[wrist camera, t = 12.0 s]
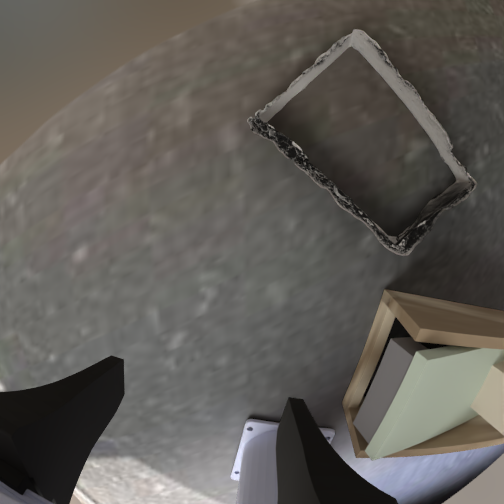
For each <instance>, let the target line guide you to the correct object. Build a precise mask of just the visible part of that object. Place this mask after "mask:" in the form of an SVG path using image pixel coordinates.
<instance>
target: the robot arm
mask: <svg viewBox="0 0 504 504" xmlns="http://www.w3.org/2000/svg"><path fill="white" fill-rule="evenodd" d="M124 394H125V393H124V359H121V358H117V357H114V356H110V357H107V358H105V359H104V360H102V361H100V362H98V363H96V364H94V365H92V366H90V367H88V368H86V369H84V370H82V371H80V372H78V373H76V374H73V375H71V376H69V377H66V378H64V379H62V380H59V381H56V382H54V383H51V384H47V385H44V386H40V387H36V388H31V389H26V390H20V391H11V392H0V504H69V503H70V500H71V497H72V494H73V491H74V489H75V486H76V483H77V481H78V478H79V476H80V474H81V471H82V469H83V467H84V464H85V462H86V460H87V458H88V456H89V454H90V452H91V450H92V448H93V447H94V445H95V443H96V442H97V440H98V439H99V437H100V436H101V434H102V433H103V431H104V430H105V428H106V427H107V425H108V424H109V422H110V421H111V419H112V418H113V416H114V414H115V413H116V411H117V409H118V407H119V405H120V403H121V401H122V399H123V396H124ZM248 427H252V428H248ZM334 435H335V431H334V430H333V429H330V428H319V427H318V426H317V424H316V422H315V420H314V419H313V417H312V415H311V413H310V411H309V410H308V408H307V406H306V404H305V402H304V400H303V399H297V398H290V397H289V398H288V401H287V404H286V406H285V409H284V412H283V415H282V418H281V421H280V423H276V422H269V421H263V420H256V419H248V420H246V423H245V426H244V430H243V434H242V437H241V441H240V444H239V448H238V452H237V455H236V459H235V462H234V466H233V469H232V473H231V478H232V479H233V480H238V481H239V484H238V492H237V500H236V504H398V503H397V500H396V499H395V498H393V497H392V496H390V495H388V494H386V493H384V492H383V491H381V490H379V489H378V488H376V487H375V486H373V485H372V484H370V483H369V482H367V481H366V480H365V479H364V478H362V477H361V476H360V475H359V474H357V473H356V472H355V471H354V470H353V469H352V468H351V467H350V466H349V465H348V464H347V463H346V462H345V461H344V460H343V459H342V458H341V457H340V456H339V455H338V454H337V453H336V451H335V450H334V449H333V448H332V446H331V445H330V443H331V441H332V439H333V437H334Z"/></svg>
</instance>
